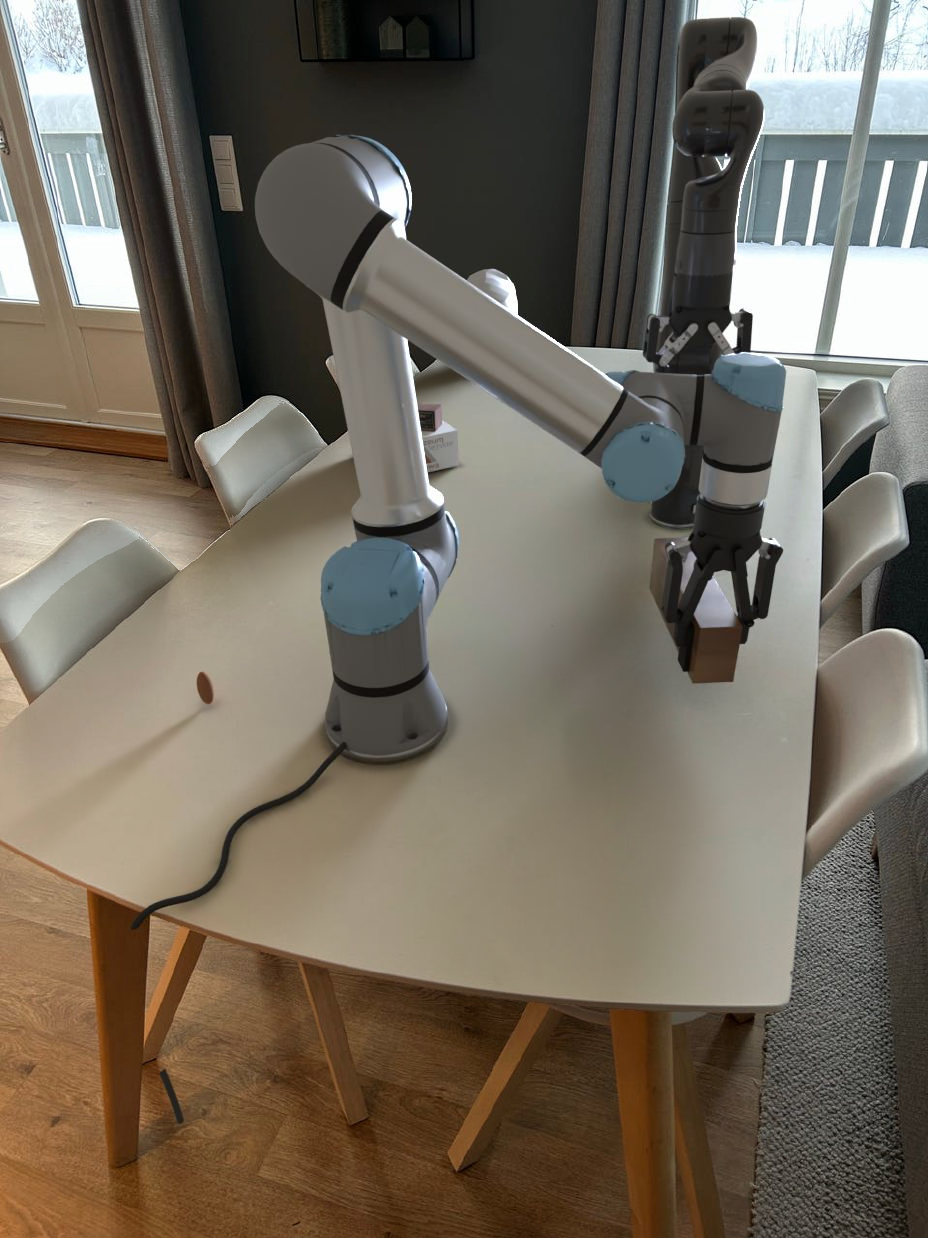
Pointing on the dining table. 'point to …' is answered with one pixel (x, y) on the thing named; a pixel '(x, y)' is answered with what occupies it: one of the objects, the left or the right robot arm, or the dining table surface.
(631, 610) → the dining table surface
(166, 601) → the dining table surface
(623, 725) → the dining table surface
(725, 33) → the right robot arm
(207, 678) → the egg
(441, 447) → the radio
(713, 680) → the bar
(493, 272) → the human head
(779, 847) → the dining table surface
